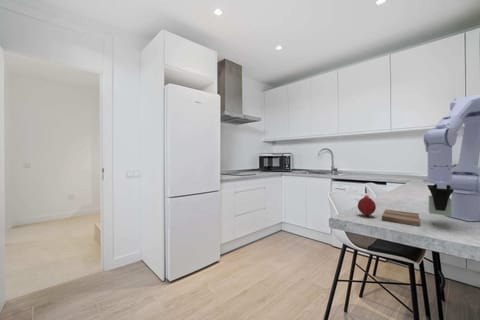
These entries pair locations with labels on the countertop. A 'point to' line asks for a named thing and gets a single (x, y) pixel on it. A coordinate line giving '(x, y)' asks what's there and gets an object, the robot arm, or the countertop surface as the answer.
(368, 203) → the onion
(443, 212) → the cube
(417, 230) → the countertop surface
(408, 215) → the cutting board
